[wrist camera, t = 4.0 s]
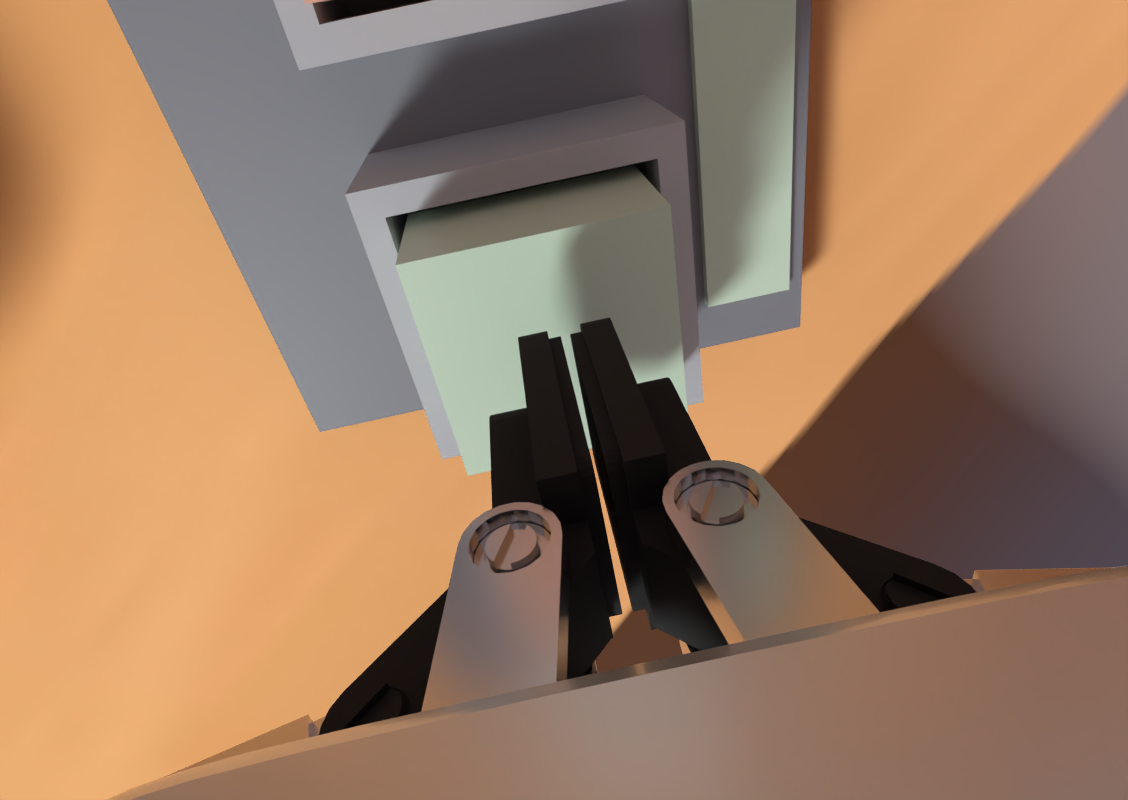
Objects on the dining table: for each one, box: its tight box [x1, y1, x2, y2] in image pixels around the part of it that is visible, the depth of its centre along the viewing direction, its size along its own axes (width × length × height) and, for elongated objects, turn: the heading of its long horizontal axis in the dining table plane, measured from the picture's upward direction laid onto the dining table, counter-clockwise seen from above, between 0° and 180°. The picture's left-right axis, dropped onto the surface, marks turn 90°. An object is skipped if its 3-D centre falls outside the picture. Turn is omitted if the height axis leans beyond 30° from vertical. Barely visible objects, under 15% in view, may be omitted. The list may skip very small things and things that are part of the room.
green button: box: [395, 165, 688, 476], centre depth 14 cm, size 5×5×3 cm
